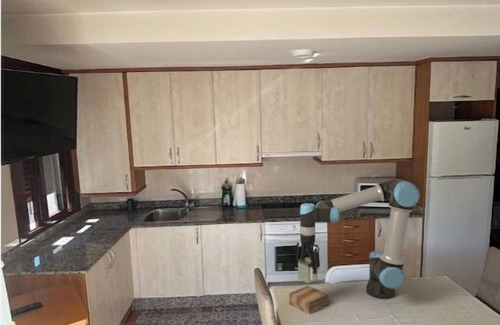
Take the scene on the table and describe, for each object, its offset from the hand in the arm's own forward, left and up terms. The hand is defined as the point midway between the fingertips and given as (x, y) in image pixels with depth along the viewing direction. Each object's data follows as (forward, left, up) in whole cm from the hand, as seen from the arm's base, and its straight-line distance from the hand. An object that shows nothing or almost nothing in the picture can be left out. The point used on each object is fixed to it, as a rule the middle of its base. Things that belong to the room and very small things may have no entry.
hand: (307, 277), depth 193 cm
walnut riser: (0, 0, -15) cm, 15 cm away
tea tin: (0, 0, -1) cm, 1 cm away
